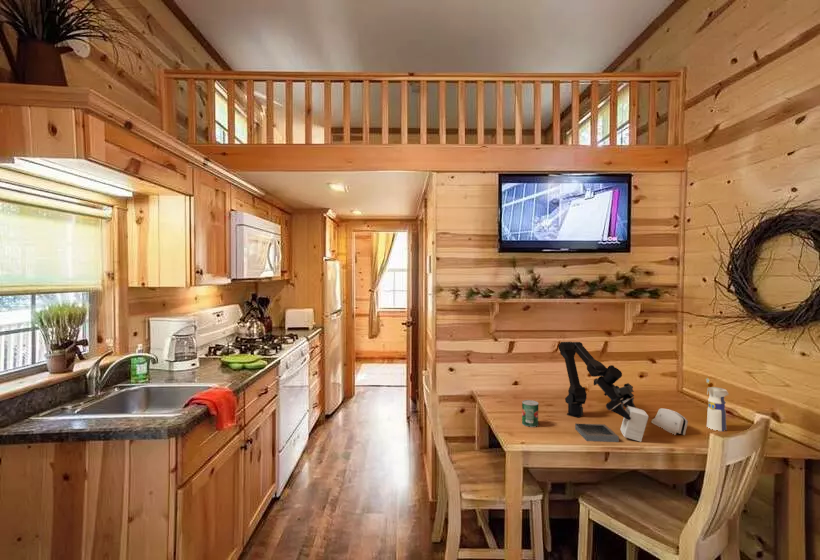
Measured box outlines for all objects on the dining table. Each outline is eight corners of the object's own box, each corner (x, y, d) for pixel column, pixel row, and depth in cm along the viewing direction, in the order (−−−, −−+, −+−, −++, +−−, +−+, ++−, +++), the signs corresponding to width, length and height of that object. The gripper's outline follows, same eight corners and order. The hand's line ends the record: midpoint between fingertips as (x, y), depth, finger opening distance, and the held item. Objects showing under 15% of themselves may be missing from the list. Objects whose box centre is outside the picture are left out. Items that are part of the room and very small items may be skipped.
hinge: (650, 422, 197) (657, 403, 197) (658, 425, 197) (665, 406, 197) (675, 435, 180) (682, 415, 180) (684, 438, 180) (691, 418, 181)
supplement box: (636, 434, 179) (644, 409, 178) (641, 442, 172) (649, 416, 171) (619, 429, 181) (626, 404, 180) (623, 436, 174) (631, 411, 173)
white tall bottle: (719, 432, 184) (720, 380, 184) (701, 426, 192) (702, 376, 192) (732, 430, 186) (732, 379, 186) (713, 424, 194) (714, 374, 194)
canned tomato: (519, 421, 197) (519, 400, 197) (534, 421, 197) (534, 399, 197) (525, 427, 189) (525, 405, 189) (541, 427, 189) (541, 404, 189)
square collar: (575, 428, 187) (575, 423, 187) (604, 429, 186) (604, 424, 186) (586, 440, 173) (586, 435, 173) (618, 442, 172) (618, 436, 172)
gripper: (612, 381, 174) (639, 412, 165) (629, 375, 186) (655, 403, 177) (595, 395, 180) (620, 425, 171) (612, 388, 192) (636, 416, 183)
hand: (634, 417), depth 176 cm, fingers closed on supplement box, 9 cm apart
